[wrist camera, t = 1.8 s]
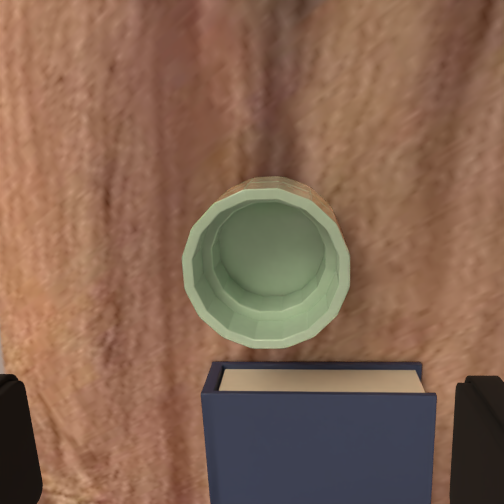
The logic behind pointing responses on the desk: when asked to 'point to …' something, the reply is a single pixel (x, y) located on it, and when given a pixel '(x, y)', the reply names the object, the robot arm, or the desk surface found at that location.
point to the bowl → (267, 264)
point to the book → (318, 433)
